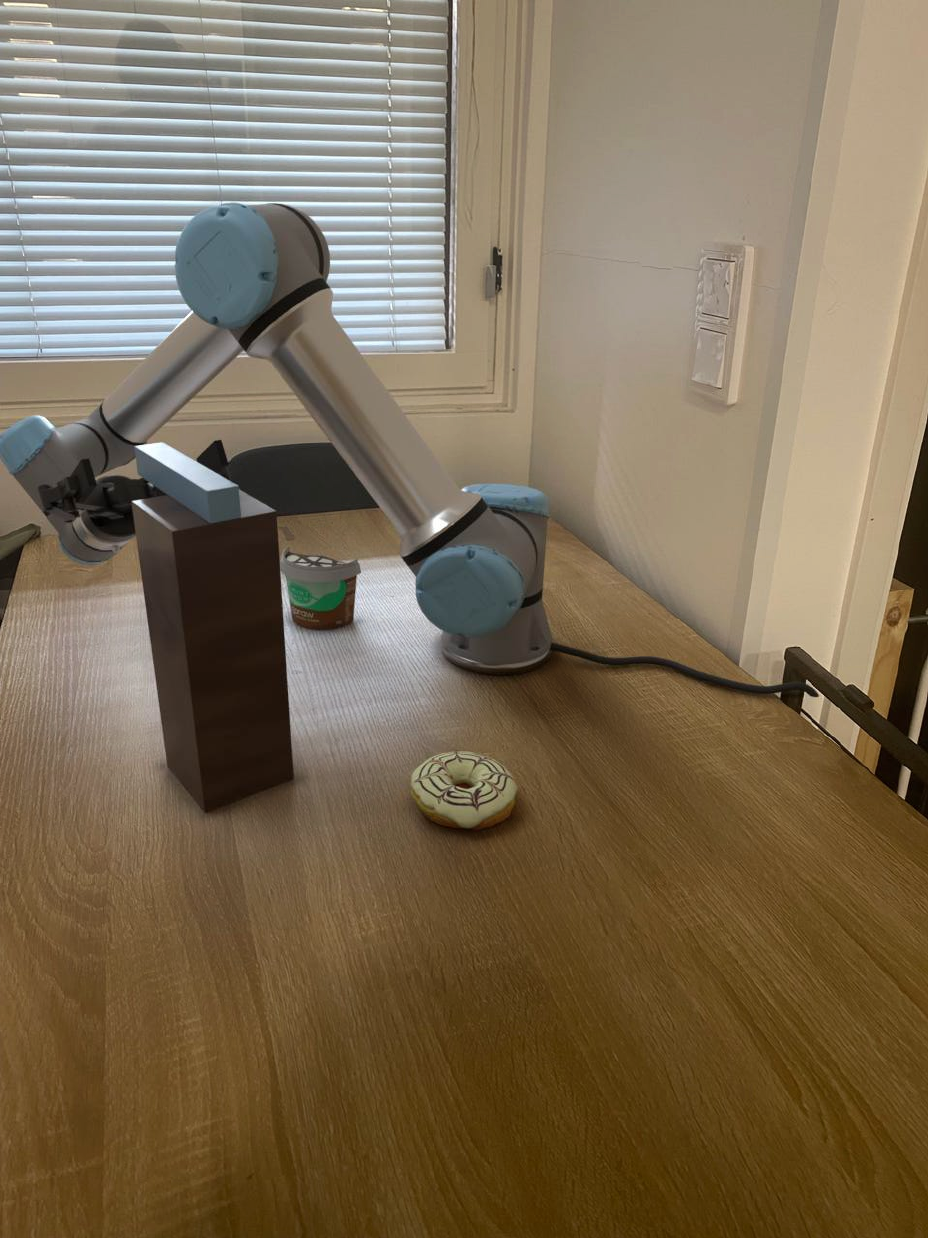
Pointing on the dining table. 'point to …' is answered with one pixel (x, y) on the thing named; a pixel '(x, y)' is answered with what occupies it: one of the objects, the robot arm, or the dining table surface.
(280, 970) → the dining table surface
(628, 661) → the robot arm
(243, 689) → the stand
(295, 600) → the food container
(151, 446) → the bar
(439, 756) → the decorated donut
